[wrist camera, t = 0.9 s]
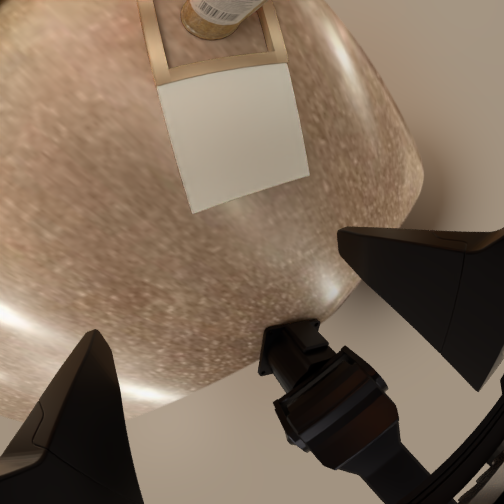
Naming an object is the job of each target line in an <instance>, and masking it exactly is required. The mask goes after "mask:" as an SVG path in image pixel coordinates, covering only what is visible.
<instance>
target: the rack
mask: <svg viewBox="0 0 504 504" xmlns="http://www.w3.org/2000/svg"><path fill="white" fill-rule="evenodd" d="M137 6H138V11H139V16H140V20H141V25H142V30H143V35H144V39H145V44H146V48H147V53H148V57H149V61H150V65H151V70H152V74H153V78H154V82H155V86H156V88H157V86H161V85H165V84H168V83H172V82H176V81H180V80H184V79H188V78H192V77H197V76H201V75H206V74H211V73H216V72H221V71H227V70H233V69H239V68H246V67H253V66H261V65H270V64H280V63H288V62H289V60H288V56H287V52H286V48H285V44H284V40H283V36H282V33H281V29H280V25H279V22H278V18H277V15H276V12H275V8H274V5H273V1H272V0H268V1H267V2H266V3H264V4H263V5H262V6H261V7H260V8H259V9H257V12H258V15H259V19H260V22H261V26H262V29H263V33H264V37H265V41H266V44H267V48H268V52H261V53H252V54H243V55H236V56H229V57H223V58H217V59H211V60H206V61H200V62H195V63H191V64H186V65H182V66H177V67H173V68H169V69H168V65H167V61H166V57H165V52H164V48H163V44H162V40H161V35H160V31H159V27H158V22H157V18H156V13H155V8H154V4H153V0H137Z"/></svg>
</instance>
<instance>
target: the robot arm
mask: <svg viewBox="0 0 504 504" xmlns="http://www.w3.org/2000/svg"><path fill="white" fill-rule="evenodd" d="M337 241H338V251H339V254H340V255H341V257H342V258H343V259H344V260H345V261H346V262H347V263H348V264H349V266H350V267H351V268H352V269H353V270H354V271H355V272H356V273H357V274H358V275H359V277H360V278H361V279H362V280H363V281H364V282H365V283H366V284H367V285H368V286H369V287H371V288H372V289H373V290H374V291H375V292H376V293H377V294H378V295H379V296H381V297H382V298H383V299H384V300H385V301H386V302H387V303H388V304H389V305H391V307H392V308H393V309H394V310H396V311H397V312H398V313H399V314H400V315H401V316H402V317H403V318H404V319H405V320H406V321H407V322H408V323H409V324H410V325H411V326H413V328H415V329H416V330H417V331H418V332H419V333H420V334H421V335H422V336H423V337H424V338H425V339H426V340H427V341H428V342H429V343H430V344H431V345H432V346H433V347H434V348H435V349H436V350H437V351H438V352H439V353H441V355H442V356H443V357H444V358H445V359H446V360H447V361H448V362H449V363H450V364H451V365H452V366H453V367H454V368H455V369H456V370H457V372H458V373H459V374H460V375H461V376H462V377H463V378H464V379H465V380H466V381H467V382H468V383H469V384H470V385H471V386H472V387H473V388H474V389H475V390H476V391H477V392H479V391H480V390H481V388H482V387H483V386H484V384H485V383H486V382H487V381H488V379H489V378H490V377H491V375H492V374H493V373H494V371H495V370H496V369H497V367H498V366H499V364H500V363H501V362H502V360H503V359H504V228H502V229H500V230H497V231H493V232H457V231H435V230H430V231H429V230H416V229H397V228H374V227H344V228H342V229H339V230H338V232H337ZM315 323H316V324H315ZM319 326H320V321H319V320H318V319H312V320H307V321H302V322H297V323H291V324H285V325H280V326H274V327H269V328H267V329H266V330H265V331H264V337H263V343H262V349H261V355H260V361H259V367H258V373H259V375H260V376H265V375H269V374H274V376H275V377H276V379H277V380H278V382H279V383H280V385H281V386H282V388H283V389H284V390H285V392H286V393H287V394H285V395H284V396H283V397H281V398H280V399H277V400H275V401H274V402H273V404H274V406H275V408H276V409H275V411H276V414H277V416H278V418H279V420H280V422H281V424H282V426H283V428H284V430H285V434H286V438H287V441H288V442H289V443H290V444H291V445H297V446H298V447H299V448H301V449H302V450H303V451H305V452H307V453H308V452H309V451H311V452H312V453H313V454H314V455H315V457H316V458H317V459H318V460H319V461H320V462H321V463H322V464H323V465H324V466H326V467H328V468H331V469H333V470H337V469H340V470H343V471H346V472H349V473H353V474H357V475H359V476H360V477H361V478H362V479H363V480H364V481H365V482H366V483H367V485H368V486H369V487H370V488H371V489H372V490H373V491H374V492H375V494H377V496H378V497H379V498H380V499H381V500H382V501H383V502H384V503H385V504H504V375H503V376H502V378H501V380H500V383H501V389H502V396H501V397H500V398H499V400H498V401H497V403H496V404H495V405H494V407H493V408H492V409H491V411H490V412H489V413H488V414H487V416H486V417H485V418H484V419H483V421H482V422H481V423H480V424H479V425H478V427H477V428H476V429H475V431H473V433H472V434H471V435H470V436H469V437H468V438H467V439H466V440H465V441H464V443H463V444H462V445H461V446H460V447H459V448H458V449H457V450H456V451H455V452H454V453H453V454H452V455H451V456H450V457H449V458H448V459H447V460H446V461H445V462H444V463H443V464H442V465H441V466H440V467H439V468H438V469H437V470H435V471H434V472H433V473H432V474H430V473H429V472H428V471H427V470H426V469H425V468H424V467H423V466H422V465H421V464H420V463H419V462H418V460H417V459H416V458H415V457H414V456H413V455H412V454H411V453H410V452H409V451H408V450H407V448H406V447H405V446H404V445H403V444H402V443H401V439H400V431H399V422H398V421H399V416H398V412H397V408H396V405H395V404H394V402H393V401H392V400H391V399H390V398H389V397H388V396H387V395H386V393H385V391H386V390H388V386H387V385H386V383H385V381H384V380H383V379H382V378H381V376H380V375H379V374H378V373H377V372H376V371H375V370H374V369H373V368H372V367H371V366H370V365H369V364H368V363H366V361H364V360H363V359H362V358H361V357H359V356H358V355H357V354H355V353H354V352H353V351H352V350H350V349H349V348H348V347H347V346H344V347H343V348H341V351H339V352H338V353H337V354H336V353H335V352H334V351H333V350H332V349H331V348H330V347H329V346H328V345H329V343H328V341H327V340H326V339H325V338H324V337H323V336H322V335H321V334H320V333H319V332H318V329H319ZM269 332H270V333H269ZM485 463H487V464H489V466H490V468H489V469H488V470H487V471H486V472H484V473H483V474H482V475H481V476H480V477H479V478H478V479H477V480H476V482H477V484H476V485H475V486H474V487H472V488H471V489H470V490H469V491H467V492H466V493H465V494H464V495H462V496H461V497H460V498H459V499H458V501H459V503H457V502H456V501H455V500H454V499H453V497H455V495H456V494H458V493H459V492H460V491H461V490H462V489H463V488H464V487H465V485H466V484H467V483H468V482H469V481H470V480H471V479H472V478H473V477H474V476H475V475H476V474H477V473H478V471H479V470H480V469H481V468H482V467H483V466H484V464H485ZM0 504H144V502H143V498H142V495H141V491H140V488H139V484H138V480H137V477H136V473H135V468H134V464H133V460H132V455H131V451H130V446H129V441H128V436H127V431H126V425H125V419H124V412H123V406H122V398H121V392H120V387H119V382H118V378H117V374H116V369H115V364H114V360H113V355H112V351H111V349H110V347H109V345H108V344H107V342H106V341H105V339H104V338H103V336H102V335H101V333H100V332H99V331H98V330H97V329H94V330H92V331H89V332H87V333H86V334H85V335H84V336H83V338H82V339H81V340H80V342H79V343H78V344H77V346H76V347H75V348H74V350H73V351H72V353H71V354H70V355H69V357H68V358H67V359H66V361H65V362H64V364H63V365H62V366H61V368H60V369H59V371H58V372H57V374H56V375H55V377H54V378H53V379H52V381H51V382H50V384H49V385H48V387H47V388H46V390H45V391H44V393H43V394H42V396H41V397H40V399H39V401H38V402H37V403H36V405H35V407H34V408H33V410H32V411H31V413H30V414H29V416H28V417H27V419H26V420H25V422H24V423H23V425H22V426H21V428H20V429H19V431H18V432H17V434H16V435H15V436H14V438H13V439H12V440H11V442H10V443H9V445H8V446H7V448H6V449H5V451H4V453H3V454H2V455H1V456H0Z"/></svg>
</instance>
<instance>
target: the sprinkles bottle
mask: <svg viewBox="0 0 504 504" xmlns="http://www.w3.org/2000/svg"><path fill="white" fill-rule="evenodd" d="M267 1H268V0H188V1H187V2H186V3H185V4H184V6H183V8H182V11H181V20H182V23H183V25H184V26H185V28H186V29H187V30H188V31H189V32H190V33H192V34H193V35H195V36H198V37H199V38H203V39H208V40H214V39H221V38H224V37H226V36H229V35H230V34H232V33H233V32H234V31H235V30H236V29H237V28H238V25H239V24H240V23H241V22H242V21H243V20H245V19H246V18H247V17H248V16H250V15H252V14H253V13H254V12H255V11H256V10H257V9H259V8H260V7H261V6H262V5H263V4H264V3H266V2H267Z"/></svg>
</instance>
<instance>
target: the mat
mask: <svg viewBox="0 0 504 504" xmlns="http://www.w3.org/2000/svg"><path fill="white" fill-rule="evenodd" d="M156 89H157V93H158V97H159V100H160V104H161V108H162V112H163V116H164V120H165V123H166V127H167V131H168V134H169V138H170V141H171V145H172V149H173V152H174V156H175V159H176V163H177V166H178V170H179V173H180V176H181V180H182V183H183V186H184V190H185V193H186V196H187V200H188V203H189V206H190V209H191V212H192V214H195V213H197V212H200V211H203V210H206V209H208V208H211V207H214V206H217V205H220V204H223V203H226V202H228V201H231V200H234V199H237V198H240V197H243V196H246V195H249V194H252V193H255V192H258V191H261V190H264V189H268V188H271V187H274V186H277V185H280V184H283V183H286V182H290V181H293V180H296V179H299V178H303V177H306V176H309V175H310V174H309V168H308V162H307V156H306V151H305V145H304V140H303V135H302V130H301V124H300V119H299V115H298V110H297V105H296V100H295V96H294V91H293V87H292V83H291V78H290V74H289V70H288V66H287V63H280V64H270V65H261V66H253V67H246V68H239V69H233V70H227V71H221V72H216V73H211V74H206V75H201V76H197V77H192V78H188V79H184V80H180V81H176V82H172V83H168V84H165V85H161V86H157V88H156Z"/></svg>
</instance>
